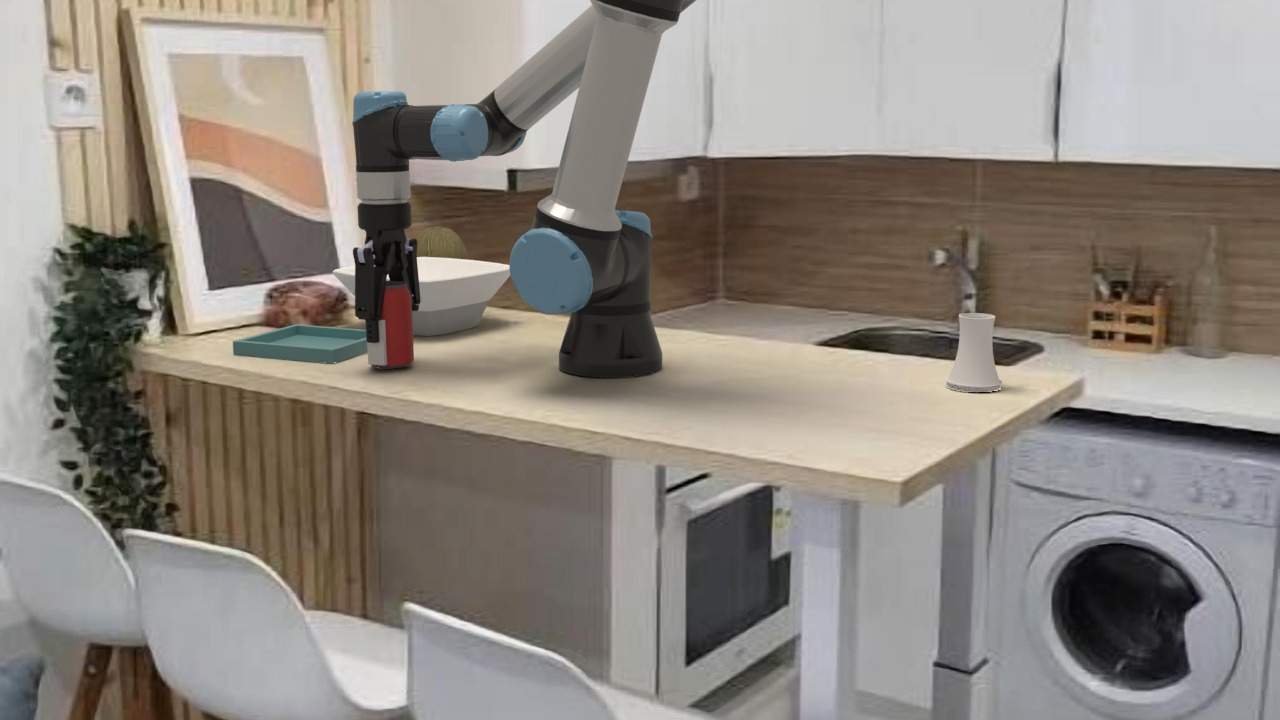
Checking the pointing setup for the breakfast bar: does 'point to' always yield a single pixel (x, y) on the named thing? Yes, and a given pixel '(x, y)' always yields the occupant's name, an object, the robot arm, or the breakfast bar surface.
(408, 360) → the beer can
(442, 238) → the fruit
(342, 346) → the tray
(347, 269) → the bowl
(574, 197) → the robot arm
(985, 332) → the cooling tower model
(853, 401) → the breakfast bar surface
